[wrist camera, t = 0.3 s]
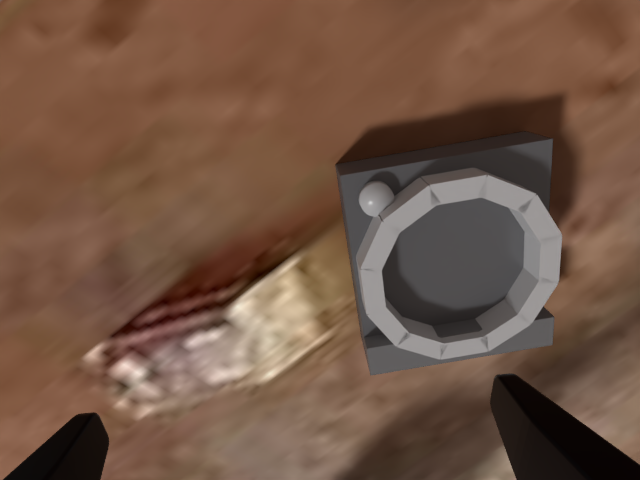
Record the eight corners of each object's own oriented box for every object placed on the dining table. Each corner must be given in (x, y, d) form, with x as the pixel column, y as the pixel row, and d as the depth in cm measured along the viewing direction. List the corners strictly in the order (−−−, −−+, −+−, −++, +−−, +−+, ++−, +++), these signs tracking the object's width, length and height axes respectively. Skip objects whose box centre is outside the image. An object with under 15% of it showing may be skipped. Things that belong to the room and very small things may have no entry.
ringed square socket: (520, 310, 26) (557, 350, 22) (361, 337, 26) (372, 381, 22) (525, 131, 21) (573, 144, 18) (335, 164, 22) (343, 184, 18)
